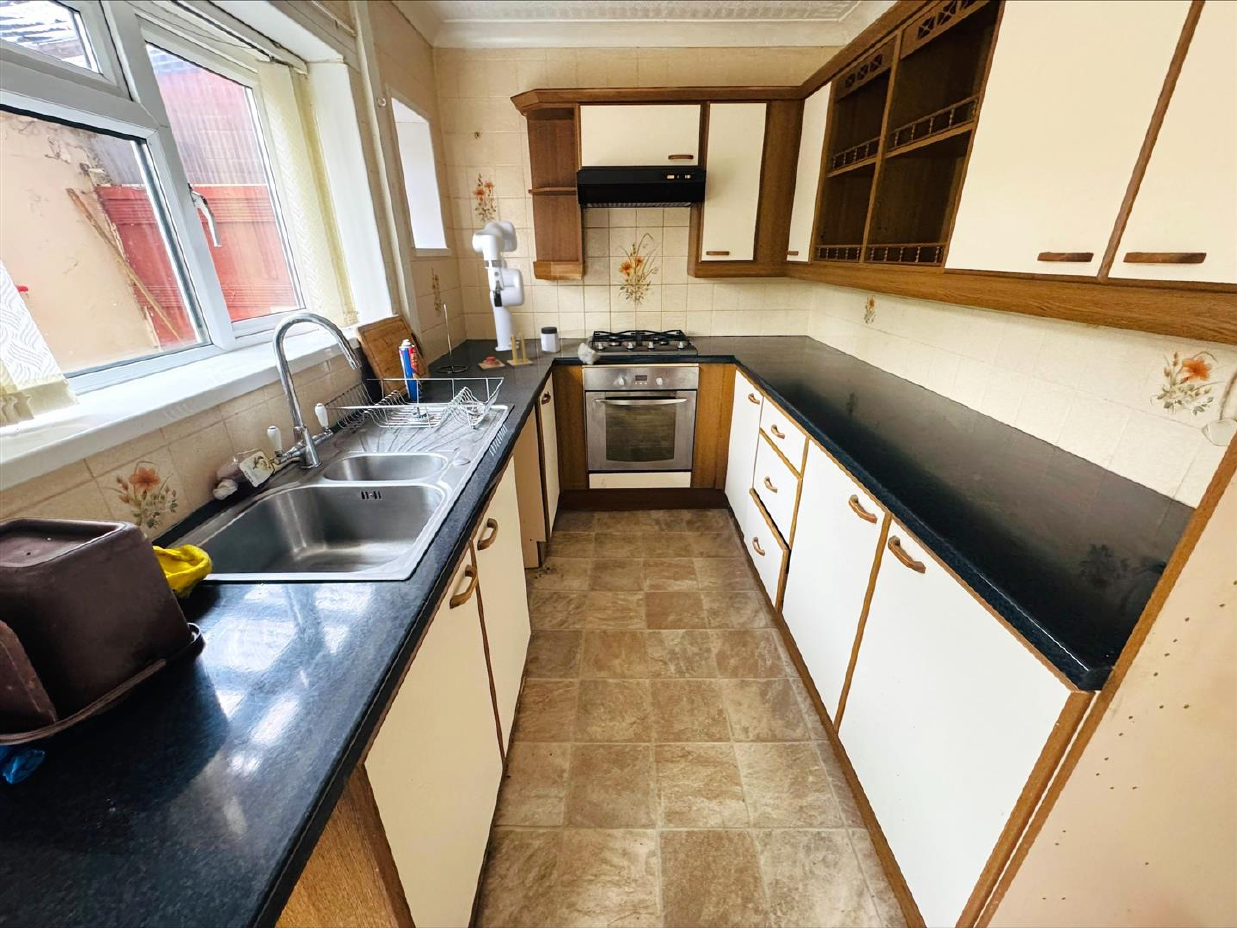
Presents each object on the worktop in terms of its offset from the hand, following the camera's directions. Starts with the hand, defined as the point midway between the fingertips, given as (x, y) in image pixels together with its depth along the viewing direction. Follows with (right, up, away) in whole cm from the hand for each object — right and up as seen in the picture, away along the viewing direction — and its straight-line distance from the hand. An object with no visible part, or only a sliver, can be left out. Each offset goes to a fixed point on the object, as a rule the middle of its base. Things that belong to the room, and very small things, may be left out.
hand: (498, 306), depth 237 cm
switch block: (-2, -29, -3) cm, 29 cm away
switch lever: (+8, -17, 0) cm, 19 cm away
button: (-2, -27, -4) cm, 27 cm away
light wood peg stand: (+10, -27, +1) cm, 29 cm away
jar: (+21, -15, +27) cm, 37 cm away
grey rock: (+44, -28, -4) cm, 52 cm away
